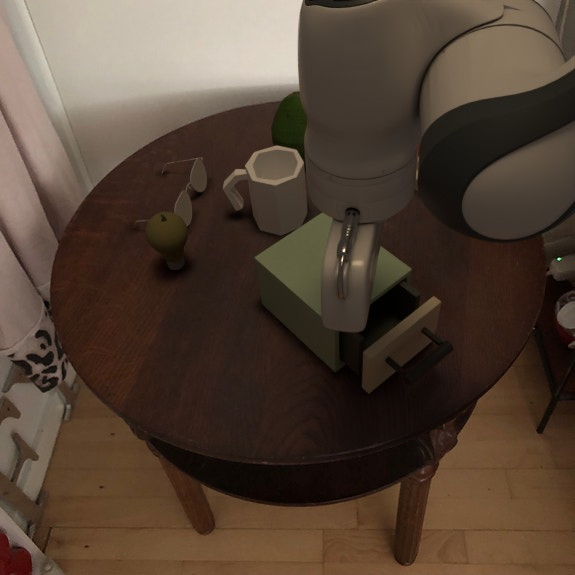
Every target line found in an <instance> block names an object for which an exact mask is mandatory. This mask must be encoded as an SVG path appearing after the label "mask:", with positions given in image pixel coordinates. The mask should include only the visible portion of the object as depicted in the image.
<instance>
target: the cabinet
mask: <svg viewBox="0 0 575 575" xmlns="http://www.w3.org/2000/svg"><path fill="white" fill-rule="evenodd" d="M332 220H333V218H331V217H329V216H327V215H326V214H324V213H323V212H321V213H320V214H317V215H316V216H315V217H313V218H312V219H310V220H309V221H307V222H306V223H304V224H302V226H301V227H300V228H298V229H296V230H293V231H291V232H290V233H289V234H287V235H286V236H284V237H283V238H281V239H280V240H278V241H277V242H275V243H274V244H272V245H271V246H269V247H268V248H267V249H265V250H263V251H262V252H260V253H259V254H257V255H255V256H254V257H253V259H254V264H255V270H256V276H257V282H258V288H259V294H260V298H261V300H260V301H261V304H262V305H263V306H264V308H266V309H267V310H268V311H269V312H270V313H271V314H272V315H273V316H274V317H275V318H276V319H277V320H278V321H279V322H281V323H282V324H283V325H284V326H285V327H286V328H287V329H288V330H289V331H290V332H291V333H292V334H293V335H294V336H295V337H296V338H298V340H300V341H301V342H302V343H303V344H304V345H305V346H306V347H307V348H308V349H309V350H310V351H312V352H313V353H314V355H315V356H317V357H318V358H319V359H320V360H321V361H322V362H323V363H324V364H325V365H327V367H329V369H330V370H332V372H334V373H337V372H338V371H339V370H341V369H342V368H344V367H345V366H347V365H346V364H345V363H344V362H343V361H342V360H341V359H340V358H339V331H336V330H332V329H328V328H326V327H325V326H324V325H323V324H322V319H321V272H322V263H323V257H324V252H325V248H326V244H327V240H328V236H329V232H330V228H331V224H332ZM412 271H413V269H412V267H410V266H408V265H407V264H406V263H405V262H403V261H401V260H400V259H399V258H398V257H397V256H395V255H394V254H393V253H391V252H390V251H388V250H387V249H386V248H384V247H383V246H382V245H381V246H380V251H379V257H378V263H377V268H376V274H375V279H374V285H373V291H372V296H371V302H370V304H372V303H373V302H374V301H376V300H377V299H378V298H379V297H381V296H382V295H383V294H385V293H386V292H387V291H389V290H390V289H391V288H393V287H394V286H395V285H397V284H398V283H399V282H401V281H402V280H403V281H405V282H406V283H407V284H409V285H410V286H411V282H412V281H411V280H412V273H413V272H412Z"/></svg>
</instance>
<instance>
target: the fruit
mask: <svg viewBox="0 0 575 575" xmlns="http://www.w3.org/2000/svg"><path fill="white" fill-rule="evenodd" d="M306 127H307V116H306V114H305V112H304V109H303V107H302V104H301V100H300V91H298V90H297V91H293V92H291V93H289V94H288V95H286V96H285V97H283V98H282V100H281V101H280V102H279V105H278V107H277V110H276V112H275V114H274V116H273V121H272V124H271V127H270V132H271V142H272V144H273V146H276V145H277V146H282V147H286V148H291V149H295V150H297V151H298V153H299V155H300V157H301V158H302V160H303V162H304V164H306V162H305V149H304V135H305V131H306Z"/></svg>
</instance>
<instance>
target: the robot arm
mask: <svg viewBox="0 0 575 575" xmlns="http://www.w3.org/2000/svg"><path fill="white" fill-rule="evenodd" d="M300 6H301V7H300V11H299V16H298V26H297V75H298V90H299V91H300V100H301V104H302V107H303V109H304V112H305V114H306V116H307V127H306V131H305V135H304V149H305V162H306V163H305V172H306V173H305V174H306V185H307V193H308V196H309V199H310V201H311V203H312V204H313V206H314V207H316V208H317V209H318V210H319V211H320V212H321V213H322V212H323V213H324V214H326V215H327V216H329V217H331V218H333V220H332V224H331V228H330V232H329V236H328V240H327V244H326V248H325V252H324V257H323V263H322V272H321V319H322V324H323V325H324V326H325V327H326V328H328V329H332V330H336V331H343V332H361V331H363V330H364V329H365V327H366V323H367V319H368V313H369V308H370V302H371V296H372V291H373V285H374V279H375V274H376V268H377V263H378V257H379V251H380V246H381V247H382V240H383V234H384V229H385V222H386V221H387V220H389V219H390V218H391V217H394V216H395V215H397V214H398V213H400V212H401V211H403V210H404V209H405V208H406V207H407V206H408V205H409V204H410V202H411V200H412V199H413V197H414V194H415V191H416V190H415V182H416V172H417V161H418V150H419V144H420V151H419V165H418V178H417V186H418V191H417V192H418V196H419V198H420V200H421V202H422V204H423V206H424V208H425V209H426V210H427V211H428V212H429V213H430V214H431V215H432V216H433V217H434V218H435V219H437V220H438V221H439V222H440V223H442V225H444V226H446V227H447V228H449V229H451V230H452V231H454V232H457V233H458V234H461V235H463V236H466V237H468V238H471V239H475V240H478V241H483V242H487V243H497V244H498V243H499V244H508V243H510V244H511V243H517V242H522V241H527V240H530V239H534V238H535V237H539V236H541V235H544V234H546V233H548V232H550V231H551V230H554V229H555V228H557V227H558V226H560V225H561V224H563V223H565V222H566V221H567V220H568V219H569V218H571V217H572V216H573V215H574V214H575V54H574V55H573V56H572V57H570V58H569V59H568V60H567V57H566V54H565V51H564V48H563V46H562V42H561V39H560V37H559V34H558V31H557V29H556V27H555V24H554V21H553V18H552V17H551V15H550V14H549V13H548V11H547V10H546V9H545V8H544V7H543V5H541V4H540V3H539V2H537V1H536V0H302V2H301V5H300Z"/></svg>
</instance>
